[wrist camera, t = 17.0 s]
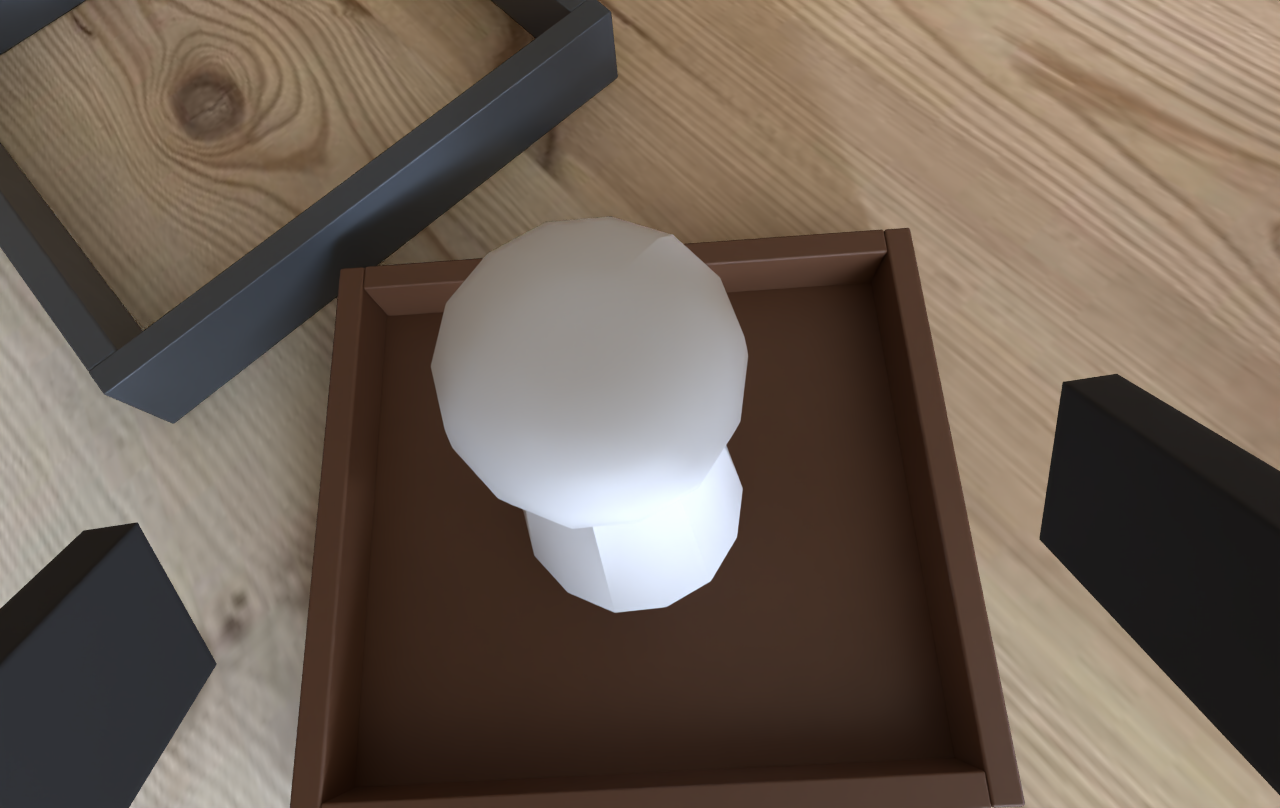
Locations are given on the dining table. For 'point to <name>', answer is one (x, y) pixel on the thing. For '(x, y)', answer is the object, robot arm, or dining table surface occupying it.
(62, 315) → the open gray frame
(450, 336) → the salt shaker
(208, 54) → the dining table surface
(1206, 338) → the dining table surface
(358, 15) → the dining table surface
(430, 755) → the tray
